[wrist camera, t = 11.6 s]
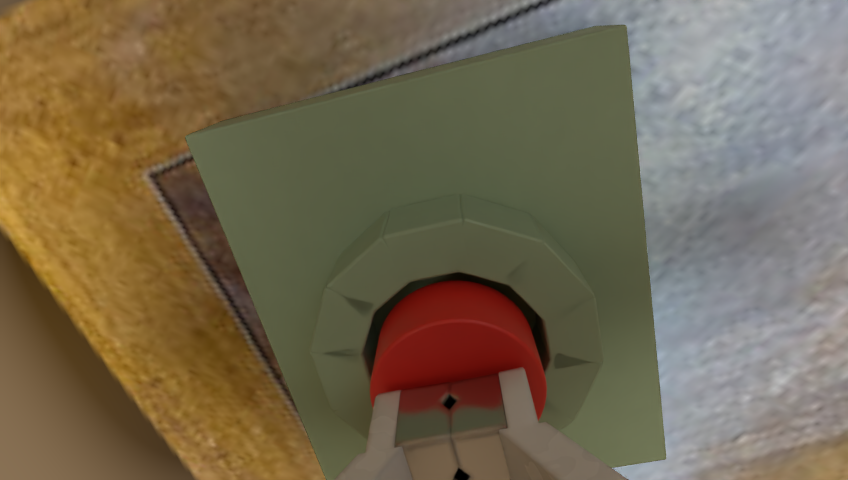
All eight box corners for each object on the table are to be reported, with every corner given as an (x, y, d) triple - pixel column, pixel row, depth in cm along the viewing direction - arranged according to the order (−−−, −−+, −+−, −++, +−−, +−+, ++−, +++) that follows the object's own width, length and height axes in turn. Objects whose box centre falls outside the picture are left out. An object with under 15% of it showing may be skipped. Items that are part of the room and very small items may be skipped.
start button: (360, 296, 12) (347, 339, 10) (518, 263, 11) (532, 302, 10) (400, 421, 13) (395, 476, 11) (544, 396, 12) (559, 450, 11)
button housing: (221, 121, 14) (141, 153, 10) (597, 25, 13) (662, 21, 9) (349, 458, 18) (326, 567, 14) (639, 408, 17) (696, 514, 13)
